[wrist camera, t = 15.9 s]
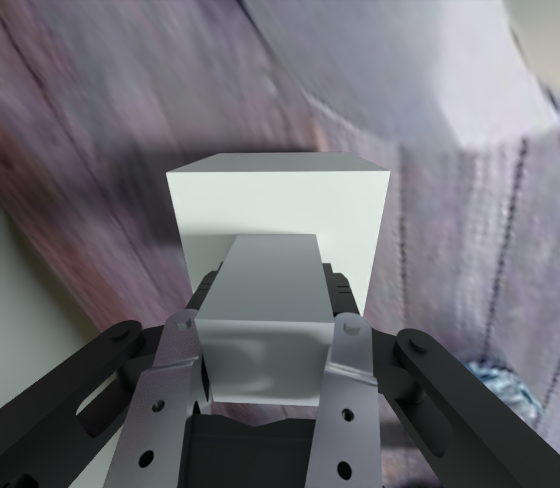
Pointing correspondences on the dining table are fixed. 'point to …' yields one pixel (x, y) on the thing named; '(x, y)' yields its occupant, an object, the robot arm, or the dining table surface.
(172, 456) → the robot arm
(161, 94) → the dining table surface
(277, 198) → the white grey stepped block
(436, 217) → the dining table surface
